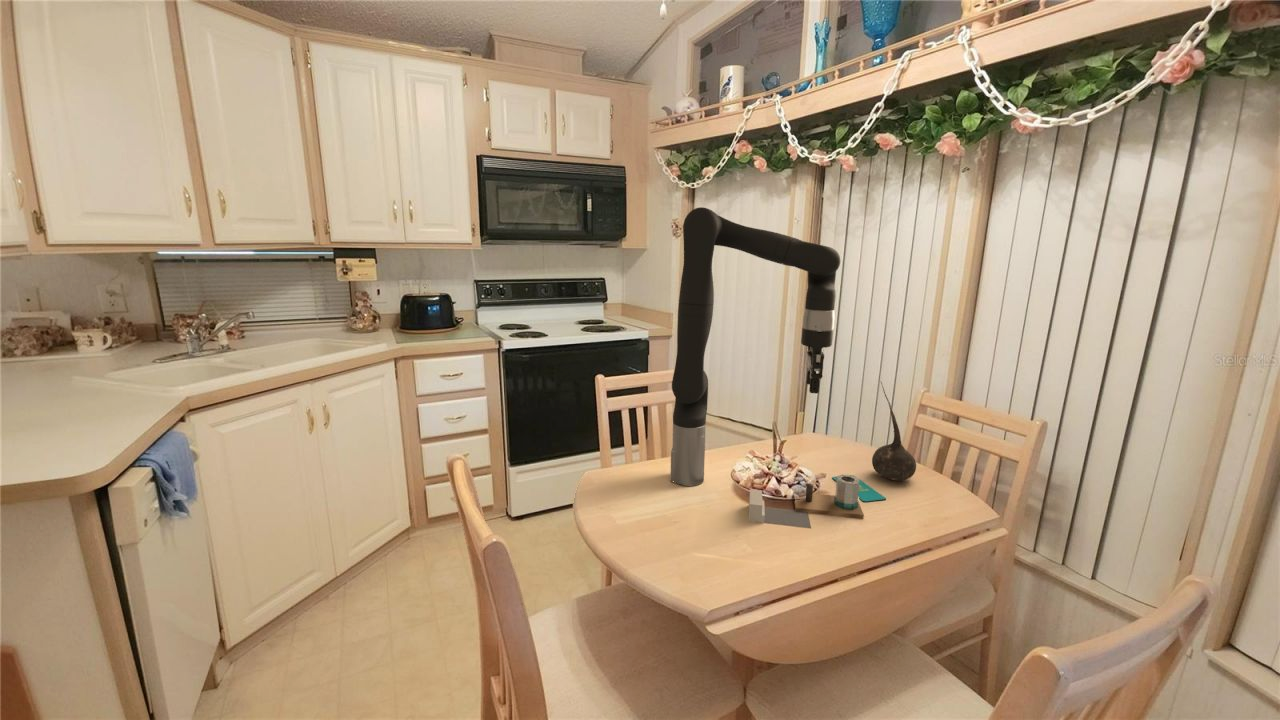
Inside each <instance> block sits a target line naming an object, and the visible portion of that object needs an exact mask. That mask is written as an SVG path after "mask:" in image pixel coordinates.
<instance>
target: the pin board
mask: <svg viewBox="0 0 1280 720" xmlns="http://www.w3.org/2000/svg"><path fill="white" fill-rule="evenodd" d="M813 491H814V483H810V482H808V483H806V489H805V493H806V498H805V499H800V500H795V501H794V500H793V502H794V508H795V509H794V510H796V511H798V512H807V513H808V514H817V515H824V516H836V517H842V518H843V517H845V518H854V519H864V517H865V515H864V512H863V508H862V507H861V505H860V502H859V501H858V508H856V509H854V510H845V509H841V508H839V507H837V506H836V505H835V503H834V496H835V494H834V495H831V494H822V493H814V492H813ZM813 493H814V494H813Z"/></svg>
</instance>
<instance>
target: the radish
mask: <svg viewBox="0 0 1280 720" xmlns="http://www.w3.org/2000/svg"><path fill="white" fill-rule="evenodd" d="M879 382H880V384H881V388H882V390H883V394H884V397H885V399H886V400H887V403H888V406H889V407H888V408H889V409H890V410H889V411H890V415H891V420H892V421H891V422H892V425H893V428H892V429H893V431H892V432H893V440H892V443H889V444H885V445H882V446H880V447H878V448H877V449H876V450H875V451H874V453H873V455H872V457H871V463H872V468H873V469H874V471H875V472H876V473H877V474H878V475H879V476H881V477H883V478H885V479H889V480H890V481H891V480H893V481H898V482H900V481H907V480H908V479H911V478H912V477H913V476H914V475H915V473H916V470H917V461H916V459H915V457H914V456H913V455H912V454H911V452H909V451H908V450H906V448H905V447H904V445H903V444H902V439H901V433H900V428H899V425H898V422H897V419H896V415H895V413H894V411H893V409H892V405H891V403H890V401H889V398H888V396H887V395H886V390H885V388H884V385H883V382H882V381H881V380H880V381H879Z"/></svg>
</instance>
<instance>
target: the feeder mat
mask: <svg viewBox="0 0 1280 720" xmlns="http://www.w3.org/2000/svg"><path fill="white" fill-rule="evenodd" d="M748 500H749V501H748V522H753V523H760V524H771V525H778V526H787V527H796V528H802V529H803V528H805V529H812V525H811V522H810V514H809V513H807V512H798V511H796V510H795V509H787V508H777V507H769V506H765V500H764V499H763V490H761V489H752V488H751V489H749V499H748Z"/></svg>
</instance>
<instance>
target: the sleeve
mask: <svg viewBox="0 0 1280 720" xmlns="http://www.w3.org/2000/svg"><path fill="white" fill-rule="evenodd" d="M851 475H852V474H840V475H837V476H836V477H837V482H835V483H836V484H835V494H834V503H835V505H836V506H837V507H839V508H841V509H845V510H854V509H856V508H858V502H859V500H858V499H859V497H858V492H859V480H860V479H859V478H858V477H857V476H855V475H853V476H851ZM854 476H855V477H854ZM856 477H857V478H856ZM858 479H859V480H858Z"/></svg>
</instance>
